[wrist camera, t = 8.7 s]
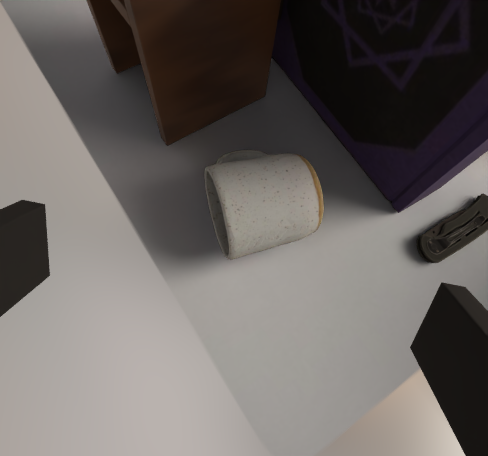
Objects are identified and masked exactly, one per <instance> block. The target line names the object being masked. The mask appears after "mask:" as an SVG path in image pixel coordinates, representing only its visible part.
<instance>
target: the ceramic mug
mask: <svg viewBox="0 0 488 456" xmlns="http://www.w3.org/2000/svg"><path fill="white" fill-rule="evenodd" d="M204 178H205V186H206V194H207V200H208V204H209V209H210V214H211V217H212V221H213V226H214V229H215V233H216V236H217V240H218V242H219V245H220V247H221V250H222V252H223V254H224V256H225V257H226V258H227V259H230V260H232V259H235V258H239V257H242V256H245V255H248V254H252V253H256V252H259V251H263V250H266V249H269V248H272V247H275V246H279V245H282V244H286V243H290V242H294V241H297V240H300V239H302V238H304V237H306V236H309V235H311V234H312V233H314V232H315V231H316V230H317V229H318V227H319V225H320V224H321V221H322V217H323V210H324V203H323V194H322V189H321V185H320V182H319V179H318V176H317V174H316V172H315V170H314V168H313V167H312V165H311V164H310V163H309V162H308V161H307V159H305V158H304V157H303V156H301V155H298V154H291V153H289V154H275V155H268V154H267V153H264V152H261V151H256V150H239V151H233V152H230V153H227V154H225V155H223V156H221V157H220V158H219V159H218V160H217V162H216V163H215V165H210V166H207V167H206V168H205V173H204Z"/></svg>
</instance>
